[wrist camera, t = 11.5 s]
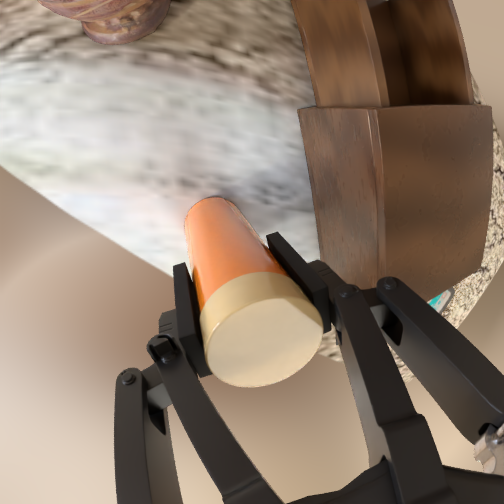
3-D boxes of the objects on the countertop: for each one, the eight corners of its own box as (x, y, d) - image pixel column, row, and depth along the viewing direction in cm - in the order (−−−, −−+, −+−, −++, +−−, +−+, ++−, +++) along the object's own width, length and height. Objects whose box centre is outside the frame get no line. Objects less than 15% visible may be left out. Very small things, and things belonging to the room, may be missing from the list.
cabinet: (296, 109, 22) (375, 108, 13) (409, 97, 24) (491, 106, 15) (321, 265, 30) (380, 328, 20) (416, 228, 31) (480, 268, 22)
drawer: (259, -63, 13) (296, -114, 5) (370, -48, 14) (425, -74, 7) (310, 123, 22) (377, 129, 14) (413, 110, 24) (481, 119, 16)
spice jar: (187, 192, 23) (213, 293, 10) (248, 200, 25) (340, 297, 11) (179, 250, 25) (199, 390, 12) (237, 255, 26) (303, 383, 13)
